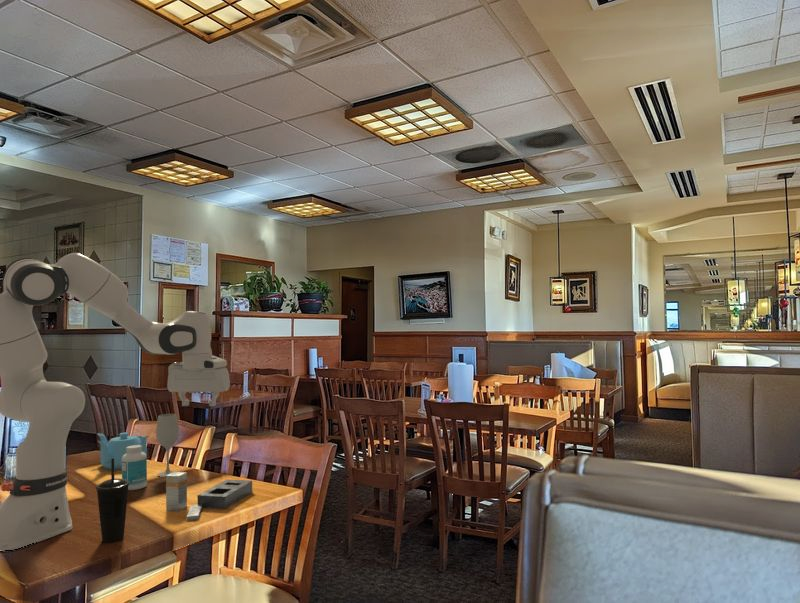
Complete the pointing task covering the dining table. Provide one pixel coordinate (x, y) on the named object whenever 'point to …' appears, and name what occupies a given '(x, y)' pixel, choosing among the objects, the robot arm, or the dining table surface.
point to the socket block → (225, 494)
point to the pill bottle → (134, 467)
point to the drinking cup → (112, 507)
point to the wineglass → (167, 435)
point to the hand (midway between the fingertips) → (199, 405)
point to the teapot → (119, 448)
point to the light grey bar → (194, 512)
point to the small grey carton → (176, 491)
